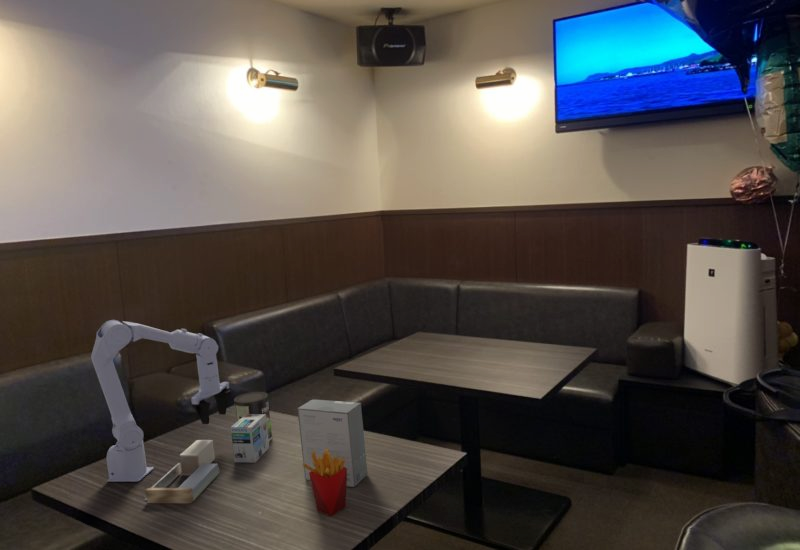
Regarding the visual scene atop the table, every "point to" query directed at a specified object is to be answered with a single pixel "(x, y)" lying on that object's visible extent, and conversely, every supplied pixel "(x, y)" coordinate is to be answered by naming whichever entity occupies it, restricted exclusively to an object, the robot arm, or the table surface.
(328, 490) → the french fries
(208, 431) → the table surface
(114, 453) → the robot arm
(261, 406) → the coffee can
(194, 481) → the two-layer flat tile
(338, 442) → the hard drive box
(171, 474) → the grey panel
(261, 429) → the light bulb box
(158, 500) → the shelf rail
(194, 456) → the cream rectangular block
